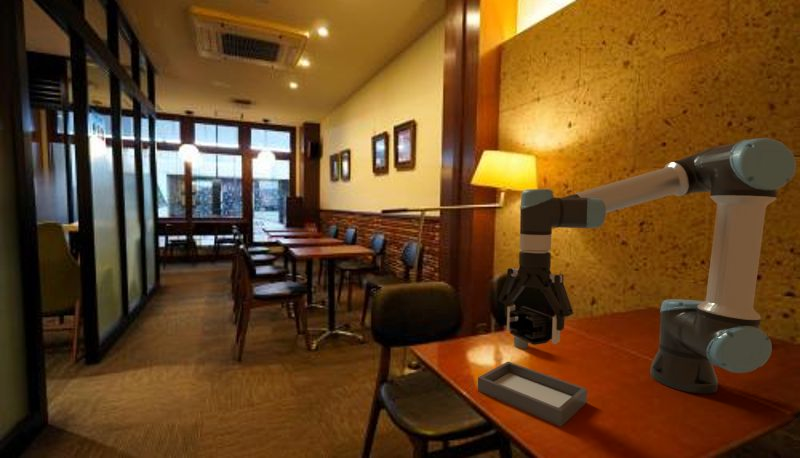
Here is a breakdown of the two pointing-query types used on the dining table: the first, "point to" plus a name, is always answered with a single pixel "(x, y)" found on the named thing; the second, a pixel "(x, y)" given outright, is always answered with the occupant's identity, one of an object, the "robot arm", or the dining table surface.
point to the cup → (520, 341)
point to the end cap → (531, 326)
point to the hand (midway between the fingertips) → (532, 336)
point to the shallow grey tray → (533, 392)
